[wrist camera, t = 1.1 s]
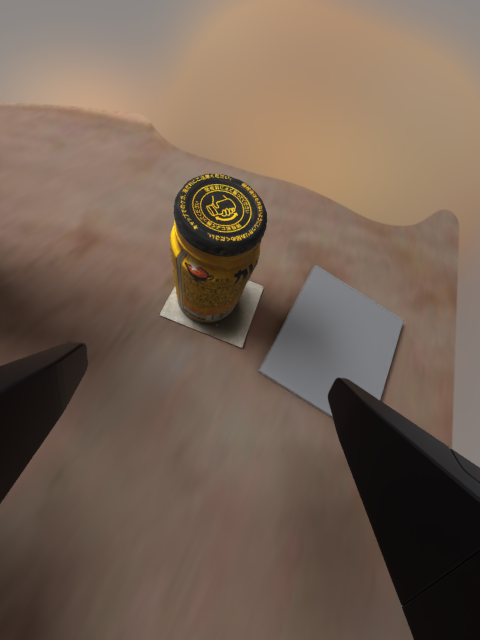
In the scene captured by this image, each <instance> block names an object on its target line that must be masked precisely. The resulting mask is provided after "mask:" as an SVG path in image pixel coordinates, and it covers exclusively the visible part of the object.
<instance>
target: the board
mask: <svg viewBox="0 0 480 640" xmlns="http://www.w3.org/2000/svg"><path fill="white" fill-rule="evenodd" d="M402 324H403V319H401V318H399V317H398V316H396V315H395V314H393V313H391V312H390V311H388V310H387V309H385V308H384V307H382V306H380V305H379V304H377V303H376V302H374V301H372V300H371V299H369V298H368V297H366V296H364V295H363V294H361V293H360V292H358V291H357V290H355V289H353V288H352V287H350V286H349V285H347V284H345V283H344V282H342V281H341V280H339V279H337V278H336V277H334V276H333V275H331V274H329V273H328V272H326V271H325V270H323V269H322V268H320V267H318V266H317V265H315V266H314V267H313V268H312V270H311V272H310V274H309V276H308V277H307V279H306V281H305V283H304V285H303V287H302V289H301V291H300V292H299V294H298V296H297V298H296V300H295V302H294V304H293V306H292V308H291V309H290V311H289V313H288V315H287V317H286V319H285V321H284V323H283V325H282V326H281V328H280V330H279V332H278V334H277V336H276V338H275V340H274V341H273V343H272V345H271V347H270V349H269V351H268V353H267V355H266V357H265V358H264V360H263V362H262V364H261V366H260V368H259V370H258V372H259V373H260V374H262V375H264V376H265V377H267V378H268V379H270V380H272V381H273V382H275V383H276V384H278V385H280V386H281V387H283V388H284V389H286V390H288V391H289V392H291V393H292V394H294V395H296V396H297V397H299V398H300V399H302V400H304V401H305V402H307V403H308V404H310V405H312V406H313V407H315V408H316V409H318V410H320V411H321V412H323V413H324V414H326V415H328V416H329V417H331V418H333V417H332V413H331V409H330V405H329V402H328V393H329V390H330V388H331V386H332V384H333V382H334V380H335V379H336V378H346V379H349V380H350V381H352V382H353V383H355V384H356V385H358V386H359V387H361V388H362V389H364V390H365V391H367V392H368V393H370V394H371V395H373V396H374V397H376V398H377V399H378V400H380V399H381V395H382V392H383V389H384V385H385V382H386V378H387V375H388V372H389V368H390V365H391V361H392V358H393V354H394V351H395V348H396V344H397V341H398V337H399V334H400V331H401V327H402Z"/></svg>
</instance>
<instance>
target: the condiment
mask: <svg viewBox="0 0 480 640" xmlns="http://www.w3.org/2000/svg"><path fill="white" fill-rule="evenodd" d="M174 217H175V221H174V226H173V229H172V232H171V236H170V242H171V253H172V254H171V258H172V263H173V267H174V269H173V272H174V282H175V287H174V289H173V291H172V293H171V295H170V296H169V298H168V300H167V302H166V304H165V305H164V307H163V309H162V311H161V313H160V315H161V316H163V317H166V318H168V319H171V320H173V321H175V322H178V323H180V324H183V325H185V326H188V327H190V328H193V329H195V330H198V331H200V332H203V333H206V334H208V335H211V336H213V337H215V338H218V339H220V340H223V341H225V342H228V343H231V344H234V345H236V346H238V347H241V348H242V347H243V344H244V341H245V338H246V335H247V332H248V330H249V327H250V324H251V321H252V318H253V316H254V313H255V310H256V307H257V304H258V302H259V299H260V296H261V293H262V291H263V288H264V287H263V286H260V285H258V284H256V283H253V282H251V281H249V278H250V276H251V274H252V272H253V270H254V268H255V267H256V265H257V262H258V259H259V255H260V243H261V239H262V237H263V235H264V232H265V230H266V226H267V225H266V223H267V212H266V209H265V206H264V204H263V201H262V200H261V198H260V197H259V196H258V195H257V193H256V192H255V191H254V190H253V189H252V188H251V187H250V186H249V185H247V184H245V183H244V182H242V181H241V180H238V179H235V178H233V177H229V176H227V175H219V174H205V175H201V176H198V177H196V178H193V179H192V180H190V181H188V182H187V183H186V184H185V185H184V187H183V188H182V189H181V190H180V191H179V193H178V194H177V197H176V198H175V205H174ZM240 296H241V299H240ZM216 324H217V325H218V326H216Z"/></svg>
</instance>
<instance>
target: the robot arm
mask: <svg viewBox="0 0 480 640" xmlns="http://www.w3.org/2000/svg"><path fill="white" fill-rule="evenodd" d="M87 366H88V360H87V348H86V345H85V344H84V343H79V342H68V343H65V344H62V345H59V346H56V347H54V348H51V349H48V350H45V351H42V352H39V353H36V354H34V355H31V356H28V357H25V358H22V359H19V360H17V361H14V362H11V363H8V364H5V365H2V366H0V504H1V502H2V501H3V499H4V498H5V496H6V495H7V493H8V492H9V491H10V489H11V488H12V486H13V485H14V483H15V482H16V480H17V479H18V477H19V476H20V475H21V473H22V472H23V470H24V469H25V467H26V466H27V464H28V463H29V462H30V460H31V459H32V457H33V456H34V454H35V453H36V451H37V450H38V449H39V447H40V446H41V444H42V443H43V441H44V440H45V438H46V437H47V436H48V434H49V433H50V431H51V430H52V428H53V427H54V425H55V424H56V423H57V421H58V420H59V418H60V417H61V415H62V414H63V412H64V410H65V409H66V407H67V405H68V403H69V401H70V400H71V398H72V396H73V394H74V392H75V390H76V388H77V387H78V385H79V383H80V381H81V379H82V377H83V375H84V374H85V372H86V370H87ZM328 402H329V405H330V409H331V413H332V417H333V420H334V424H335V428H336V431H337V435H338V438H339V441H340V444H341V446H342V449H343V452H344V454H345V457H346V459H347V462H348V465H349V467H350V470H351V473H352V475H353V478H354V481H355V483H356V486H357V489H358V491H359V494H360V497H361V499H362V502H363V505H364V507H365V510H366V513H367V515H368V518H369V521H370V523H371V526H372V529H373V531H374V534H375V537H376V539H377V542H378V545H379V547H380V550H381V553H382V555H383V558H384V561H385V563H386V566H387V569H388V571H389V574H390V576H391V579H392V582H393V584H394V587H395V590H396V592H397V595H398V598H399V600H400V603H401V605H402V609H403V612H404V614H405V617H406V620H407V622H408V625H409V628H410V630H411V633H412V636H413V638H414V640H480V468H479V467H478V466H476V465H475V464H473V463H472V462H470V461H469V460H467V459H466V458H464V457H463V456H461V455H460V454H458V453H457V452H455V451H454V450H453V449H450V448H449V447H448V446H447V445H445V444H444V443H442V442H441V441H439V440H438V439H436V438H435V437H433V436H432V435H430V434H429V433H427V432H426V431H424V430H423V429H421V428H420V427H418V426H417V425H415V424H414V423H413V422H411V421H410V420H408V419H407V418H405V417H404V416H402V415H401V414H399V413H398V412H396V411H395V410H393V409H392V408H390V407H389V406H387V405H386V404H384V403H383V402H381V401H380V400H378V399H377V398H376V397H374V396H373V395H371V394H370V393H368V392H367V391H365V390H364V389H362V388H361V387H359V386H358V385H356V384H355V383H353V382H352V381H350V380H349V379H346V378H336V379H335V380H334V382H333V384H332V386H331V388H330V390H329V393H328Z"/></svg>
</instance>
